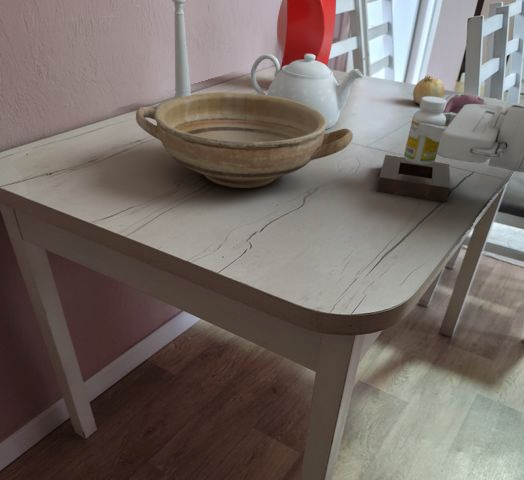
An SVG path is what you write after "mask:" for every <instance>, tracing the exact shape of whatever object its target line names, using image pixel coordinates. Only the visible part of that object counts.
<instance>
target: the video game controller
mask: <svg viewBox="0 0 524 480" xmlns="http://www.w3.org/2000/svg"><path fill="white" fill-rule="evenodd" d="M467 104H483V105H488V103H487V101H485V100H484V99H483V98H481V97H479V96H477V95H473V94H467V93H465V94H464V93H463V94H457V93H456V94H454V96H452V97H450V98H449V100H447V102H446V106H445V109H444V111H442V113H457V114H458V113H459V111H460V110H461V109H462V108H463V106H464V105H467Z"/></svg>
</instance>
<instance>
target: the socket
mask: <svg viewBox="0 0 524 480" xmlns="http://www.w3.org/2000/svg"><path fill="white" fill-rule="evenodd" d="M450 173H451V172H450V163H445V162H438V161H434V162H433V163H432V164H426V165H423V164H415V163H411V162H409V161H407V160H406V159H405V158H404V156H398V155H397V156H396V155H391V154H390V155H389V154H384V159H383V163H382V166H381V170H380V173H379V177H378V182H377V187H376V192H381V193H388V194H394V195H400V196H406V197H412V198H418V199H422V200H423V199H424V200H431V201H437V202H441V203H442V202H443V203H446V202H447V199H448V197H449V193H450V190H451V174H450Z"/></svg>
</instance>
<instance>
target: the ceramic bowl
mask: <svg viewBox="0 0 524 480" xmlns="http://www.w3.org/2000/svg"><path fill="white" fill-rule="evenodd" d="M148 119H151V120H154V121H155V122H156V125H155V124H154V123H152V122H150V121H149V120H148ZM135 121H136V123H137V125H138V126H139V127H140V128H141V129H142V130H143V131H144V132H146V133H147V134H148V135H150V136H152V137H153V138H155V139H157V140H158V141H160V142H161V144H162V146H163V148H164V149H165V151H166V152H167V153H168V154H169V155H170V157H171V158H173V160H175V161H176V162H178V163H179V164H180V165H181V166H183V167H185V168H187V169H189V170H191V171H193V172H195V173H198V174H201V175H203V176H204V177H205V178H206V179H207V180H209V181H210V182H212V183H214V184H216V185H220V186H223V187H226V188H227V187H228V188H235V189H251V188H259V187H264V186H266V185H267V186H268V185H269V184H271V183H272V182H274V181H275V180H276V179H277V178H281V177H284V176H287V175H290V174H293V173H294V172H295V173H296V172H297V171H298V170H301V169H302V168H304V167H305V166H307V165H308V164H309V163H310V162H312V161H315V160H318V159H322V158H325V157H326V158H327V157H329V156H332V155H334V154H336V153H339V152H341V151H343V150H345V149H346V148H347V147H348V146H349V145H350V143H352V140H353V137H354V136H353V132H352V130H350V129H349V128H341V129H336V130H333V131H331V132H326V133H325V131H326V130H327V129H326V127H327V120H326V119H325V117H324V116H323V115H322V114H321V113H320V112H319V111H317V110H315V109H314V108H312V107H310V106H307V105H305V104H302V103H299V102H296V101H293V100H289V99H285V98H281V97H275V96H270V95H267V94H265V95H262V94H258V93H254V92H253V93H251V92H236V91H235V92H234V91H233V92H231V91H230V92H229V91H225V92H223V91H222V92H221V91H220V92H204V93H203V92H202V93H195V94H191V95H189V96H184V97H180V98H176V99H173V100H170V101H168V102H166V103H164V104H162V105H161V106H159V108H158V109H157V110H156V108H154V107H151V106H141V107H139V108H138V109H137V110H136V112H135Z"/></svg>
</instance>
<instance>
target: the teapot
mask: <svg viewBox="0 0 524 480" xmlns="http://www.w3.org/2000/svg"><path fill="white" fill-rule="evenodd" d="M304 58H305V60H296V61H294V62H292V63H290V64H289V65H286V66H283V67H282V70H281V69H280V68H281V64H280V61H279V59H278V58H277V57H276V56H274V55H273V54H271V53H264V54H262V55H260V56H259V57H258V58H256V60H255V61H254V63H253V64H252V66H251V69H250V81H251V85H252V87H253V89H254V90H255V92H256V94H262V95H270V96H275V97H281V98H285V99H289V100H293V101H296V102H299V103H302V104H305V105H307V106H310V107H312V108H314V109H315V110H317V111H319V112H320V113H321V114H322V115H323V116H324V117H325V119H326V120H327V127H326V129H325V130H328V129H331V128H333V127H334V126H335V125H336V124H337V122H338V120H339V118H340V114H341V110H342V109H343V108H344V107H345V105H346V103H347V101H348V99H349V96H350V93H351V89H352V87H353V84H354V82H355V81H356V79H362V78H363V77H364V76H363V74H362V72H361V70H360V69H358V68H354V69H351V70H350V71H349V72H348V73H347V75H346V76H345V77H344V78H343V80H342V82H341V83H340V84H339V83H338V81H337V80H336V78H335V76H334V73H333V70H331V69H330V68H329V67H328V65H327V66H326V65H325V64H323V63H321V62H319V61H315V58H316V57H315V55H313V54H305V55H304ZM264 60H270V61H271V62H272V63H273V64H274V66H275V67H274V68H275V72H274V78H273V79H272V81H271V83H270V85H269V87H268V89H267V93H265V92H264V91H263V90H262V88H261V87H260V85H259V83H258V82H257V76H256V74H257V73H256V72H257V69H258V66H259V65H260V64H261V62H262V61H264Z"/></svg>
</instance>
